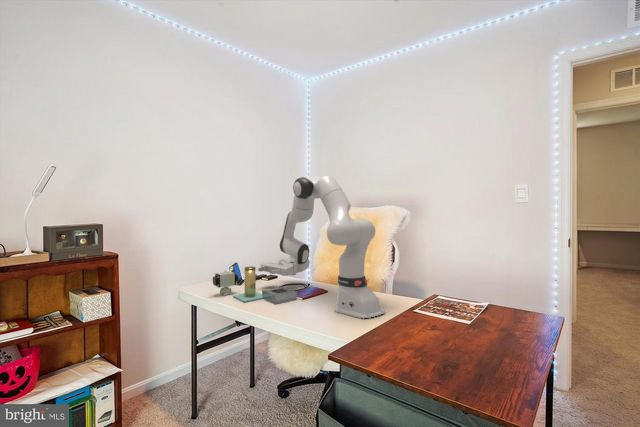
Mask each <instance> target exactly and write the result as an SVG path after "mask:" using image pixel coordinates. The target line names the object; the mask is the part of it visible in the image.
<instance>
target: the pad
mask: <svg viewBox="0 0 640 427" xmlns="http://www.w3.org/2000/svg"><path fill="white" fill-rule="evenodd" d="M232 297H233V298H234V299H236V300H237V301H240V302H242V303H244V304H245V303H250V302H255V301H260V300H264V299H263V297H262V293H260V292H257V291H256V296H255V297H251V298H247V297H245V292H244V293H240V294H235V295H232Z"/></svg>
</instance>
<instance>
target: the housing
mask: <svg viewBox="0 0 640 427" xmlns="http://www.w3.org/2000/svg"><path fill="white" fill-rule="evenodd" d="M261 294H262V297H263V299H262V300H265V301H267V302H268V303H271V304H273V305H280V304H283V303H288V302H293V301H297V300H298V291H297V290H294V289H291V288H289V287H286V286H280V287H273V288H268V289H267V288H266V289H262V291H261Z"/></svg>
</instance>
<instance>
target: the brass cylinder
mask: <svg viewBox="0 0 640 427" xmlns="http://www.w3.org/2000/svg"><path fill="white" fill-rule="evenodd" d="M256 276H257V275H256V266H245V267H244V293H245V297H247V298H251V297H255V296H256V292H257V291H256Z"/></svg>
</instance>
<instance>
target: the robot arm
mask: <svg viewBox="0 0 640 427" xmlns="http://www.w3.org/2000/svg"><path fill="white" fill-rule="evenodd" d="M292 189H293V194H294V196H293V201H292V209H291V211H289V212H288V214H287V216H286V219H285V225H284V227H283V234H282V236H281V239H280V241H279V250H280V251H281V252H282V253H283V254H287V255H288V256H290V257H288V258H283V259H282V258H281V259H280V260H278V262H276V263H275V262H262V263H261V264H260V267H258V269H257V270H258V272H267V273H270V274H271V275H275V274H276V275H281V276H283V277H285V276H296V275H297V274H299V273H302V272H304V271H306V270H307V269H308V268H309V267H310V259H309V257H310V256H309V255H310V247H309V245H308V244H307V243H306V242H305V243H304V242H302V241H300V240H298V239H296V237H295V236H294V235H295V229H296V224H298V223H304V222H307V221H309V220H310V219H312V217H313V215H314V207H315V200H316V199H320V200H321V203H322V205H323V207H324V208H325V210H326V212H327V214H328V215H327V216H328V219H329V224H328V226H327V229H326V237H327V240H328V241H329V242H330V243H331V244H332V245H336V246H342V247H344V246H345V249H344V251H343V252H342V254H341V255H340V256H339V258H338V263H339V264H338V271H339V272H338V276H337V284H338V288H337V289H338V290H337V294H336V302H335V307H334V312H336V313H339V314H342V315H347V316H351V317H354V318H357V319H361V318H363V319H362V320H365V319H364V318H369V319H372V318H371V317H374V318H376V317H375V316H378V315H381V314H383V313H384V312H385V313H386V309H384V308H382V307H381V306H380V305H381V304H380V300H379V297H378V296H377V295H376V294H375V292H374V291H373V290H372V289H371V288H370V287H369V286H368V283H369V282H370V279H369V278H368V279H367V278H366V276H365V260H366V254H367V250H368V247H369V245H370V243H371V241H372V240H373V239H374V237H375V235H376V226H375V225H374V223H373V222H372V221H370V220H367V219H365V218H364V219H363V218H356V219H355V218H354V219H353V218H351V217H350V214H349V211H350V210H351V202H350V201H349V199H348V197H347V195H346V193H345V192H344V190H343V189H342V187H341V185H340V184H339V182H338V181H337V180H336V179H335V178H334V176H331V175H323V176H321V175H320V176H319V175H318V176H317V175H316V176H315V175H312V176H305V177H304V176H301V177H299V178H296V179H295V181H294V183H293V188H292ZM385 313H384V314H385ZM384 314H383V315H384ZM381 316H382V315H381ZM378 317H379V316H378Z"/></svg>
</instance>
